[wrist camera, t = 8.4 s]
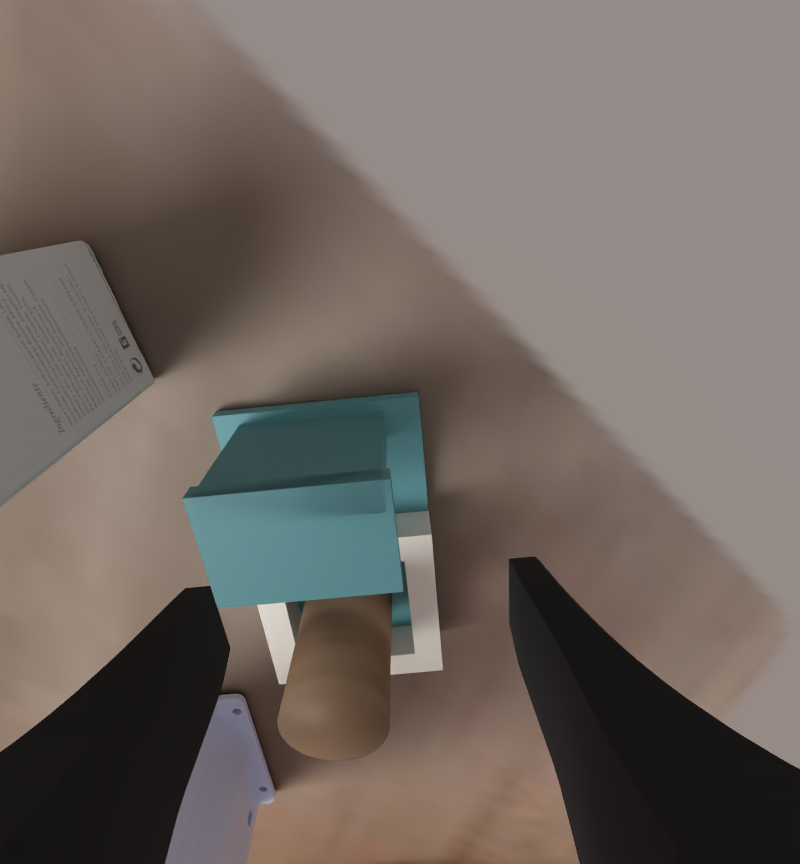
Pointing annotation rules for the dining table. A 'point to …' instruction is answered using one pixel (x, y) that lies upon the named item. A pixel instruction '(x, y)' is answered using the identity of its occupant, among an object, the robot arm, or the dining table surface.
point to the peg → (339, 678)
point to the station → (321, 518)
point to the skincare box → (59, 358)
